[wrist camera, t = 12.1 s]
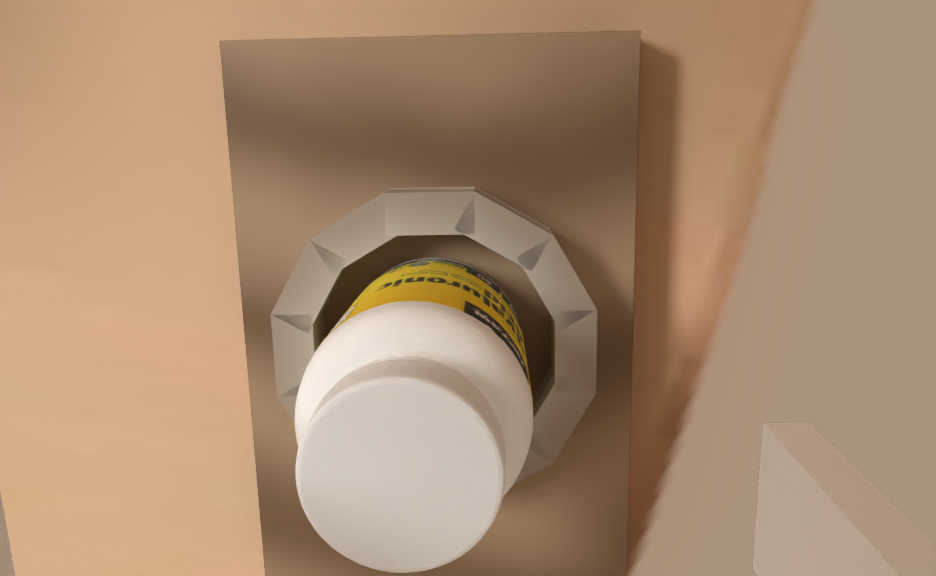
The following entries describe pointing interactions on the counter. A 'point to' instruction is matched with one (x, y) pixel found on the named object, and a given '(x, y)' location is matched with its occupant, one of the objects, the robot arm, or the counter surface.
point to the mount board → (447, 253)
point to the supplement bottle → (414, 417)
